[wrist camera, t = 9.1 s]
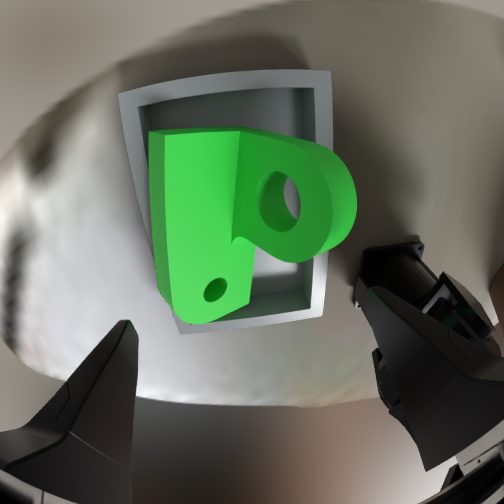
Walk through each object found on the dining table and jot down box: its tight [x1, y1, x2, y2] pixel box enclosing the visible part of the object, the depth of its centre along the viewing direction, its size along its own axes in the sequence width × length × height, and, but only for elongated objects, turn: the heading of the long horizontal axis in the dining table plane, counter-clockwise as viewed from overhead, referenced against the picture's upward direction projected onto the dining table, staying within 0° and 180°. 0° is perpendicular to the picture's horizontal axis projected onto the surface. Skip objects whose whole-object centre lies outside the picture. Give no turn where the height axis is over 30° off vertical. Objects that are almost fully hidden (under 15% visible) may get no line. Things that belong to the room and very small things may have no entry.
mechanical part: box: [148, 127, 357, 324], centre depth 14 cm, size 12×6×8 cm
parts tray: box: [118, 69, 333, 334], centre depth 17 cm, size 11×17×3 cm, turn 4°
